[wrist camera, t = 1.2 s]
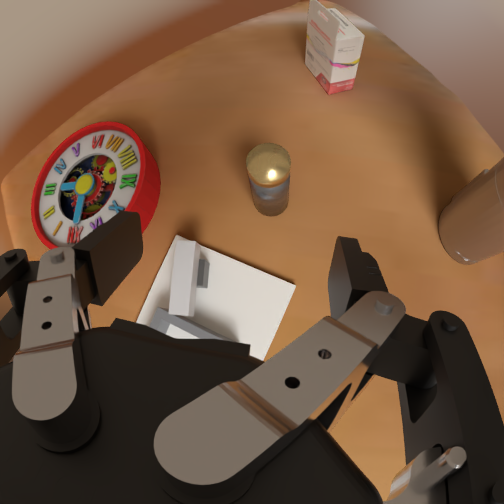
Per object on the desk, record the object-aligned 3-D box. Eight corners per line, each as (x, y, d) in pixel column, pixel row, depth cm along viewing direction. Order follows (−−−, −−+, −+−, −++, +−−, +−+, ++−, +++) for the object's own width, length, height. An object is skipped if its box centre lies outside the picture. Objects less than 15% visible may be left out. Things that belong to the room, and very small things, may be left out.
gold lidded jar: (262, 180, 40) (256, 137, 30) (293, 191, 39) (297, 151, 30) (248, 208, 39) (238, 172, 30) (280, 221, 39) (280, 187, 29)
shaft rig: (178, 236, 39) (163, 223, 34) (295, 286, 37) (298, 279, 31) (103, 414, 34) (81, 423, 29) (206, 472, 32) (196, 492, 26)
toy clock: (158, 112, 38) (131, 256, 33) (170, 135, 44) (151, 265, 39) (51, 133, 40) (19, 252, 35) (69, 149, 45) (43, 260, 41)
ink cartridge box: (354, 89, 43) (371, 20, 29) (327, 96, 43) (338, 23, 28) (328, 58, 45) (336, -9, 31) (303, 63, 45) (306, -6, 31)
